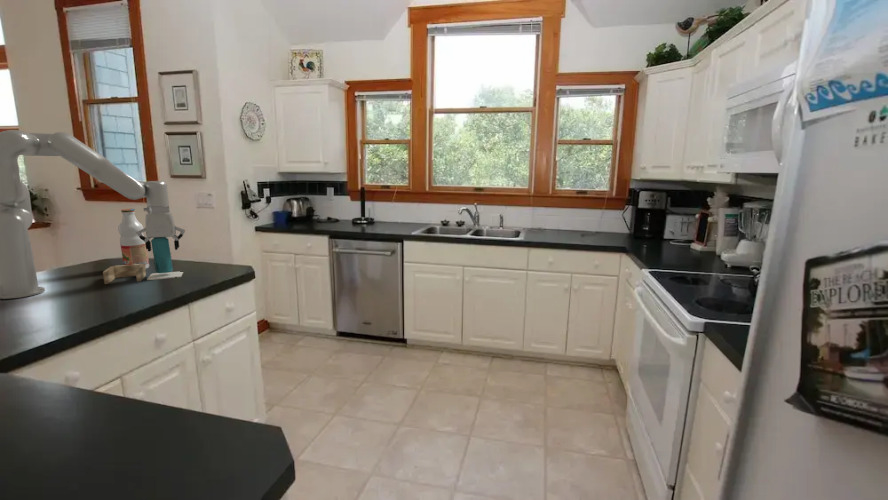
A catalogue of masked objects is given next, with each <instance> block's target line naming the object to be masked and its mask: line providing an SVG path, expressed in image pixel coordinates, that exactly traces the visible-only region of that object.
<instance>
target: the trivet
mask: <svg viewBox="0 0 888 500" xmlns="http://www.w3.org/2000/svg"><path fill="white" fill-rule="evenodd" d="M183 274H184V272H180V271H172V272H168V273H157V272H155V273H151V274H150V275H149V276H148V277H147V278H146V280H147V281H151V280H153V281H156V280H163V279H164V280H165V279H166V280H167V279H174V278H175V277H177V278H182V275H183ZM175 279H176V278H175Z"/></svg>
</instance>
